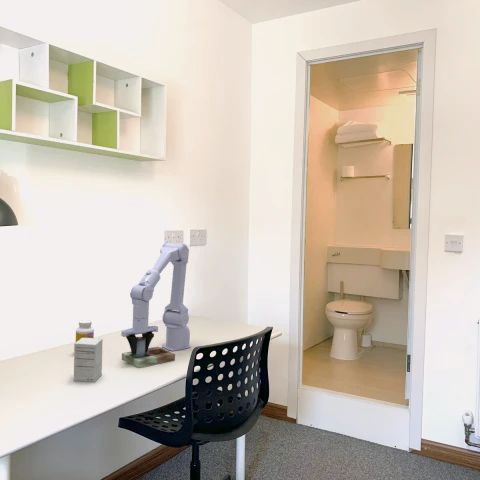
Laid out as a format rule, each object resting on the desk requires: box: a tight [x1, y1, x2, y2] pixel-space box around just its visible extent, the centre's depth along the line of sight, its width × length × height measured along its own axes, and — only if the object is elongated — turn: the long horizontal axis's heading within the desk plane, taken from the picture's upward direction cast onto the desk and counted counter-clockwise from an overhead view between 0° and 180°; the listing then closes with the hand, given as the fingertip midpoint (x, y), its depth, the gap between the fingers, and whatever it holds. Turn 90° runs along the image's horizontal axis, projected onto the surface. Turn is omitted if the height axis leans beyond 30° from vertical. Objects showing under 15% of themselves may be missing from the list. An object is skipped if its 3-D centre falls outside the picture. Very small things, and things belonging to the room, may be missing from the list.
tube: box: [133, 336, 146, 359], centre depth 178 cm, size 5×5×8 cm
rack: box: [121, 346, 176, 369], centre depth 181 cm, size 16×12×2 cm
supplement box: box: [73, 337, 103, 383], centre depth 159 cm, size 7×7×13 cm
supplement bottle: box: [75, 319, 95, 343], centre depth 184 cm, size 7×7×13 cm
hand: (139, 352), depth 178 cm, fingers closed on tube, 4 cm apart
